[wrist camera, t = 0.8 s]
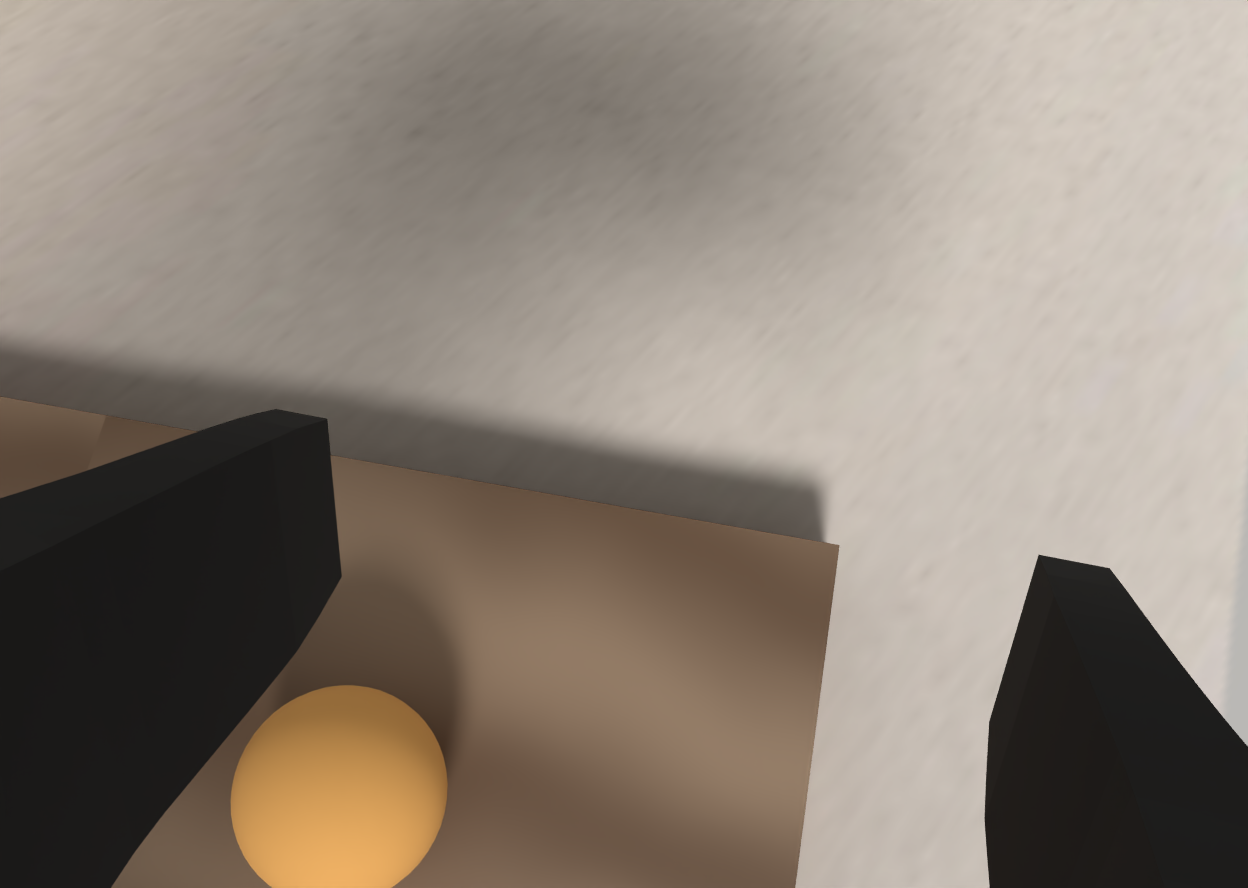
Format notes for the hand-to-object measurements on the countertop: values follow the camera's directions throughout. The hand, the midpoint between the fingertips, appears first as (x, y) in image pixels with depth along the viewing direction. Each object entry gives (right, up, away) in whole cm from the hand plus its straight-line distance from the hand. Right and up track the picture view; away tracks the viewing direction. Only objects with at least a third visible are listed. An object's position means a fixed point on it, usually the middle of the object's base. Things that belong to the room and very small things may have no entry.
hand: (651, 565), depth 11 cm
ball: (-6, -5, +10) cm, 12 cm away
